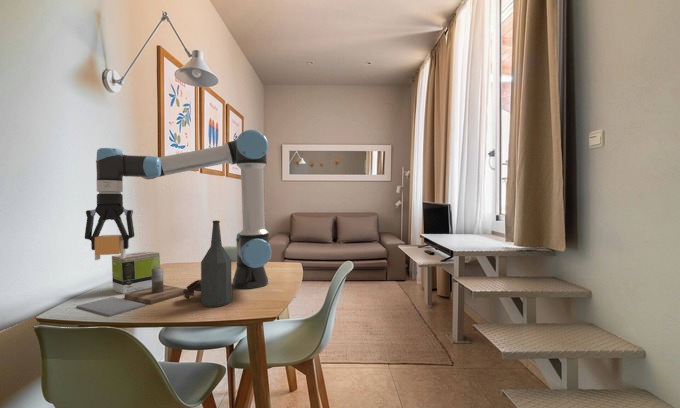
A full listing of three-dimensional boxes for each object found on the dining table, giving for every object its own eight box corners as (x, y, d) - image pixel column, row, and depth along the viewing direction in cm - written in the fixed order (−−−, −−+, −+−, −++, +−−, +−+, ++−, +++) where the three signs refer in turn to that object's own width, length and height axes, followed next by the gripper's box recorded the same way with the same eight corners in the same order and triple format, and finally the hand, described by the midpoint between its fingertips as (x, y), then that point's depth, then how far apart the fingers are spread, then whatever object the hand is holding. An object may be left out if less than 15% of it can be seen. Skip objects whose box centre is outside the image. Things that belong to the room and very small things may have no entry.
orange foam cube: (124, 251, 123) (124, 234, 122) (118, 254, 116) (118, 236, 116) (102, 252, 120) (102, 235, 120) (94, 255, 114) (94, 237, 114)
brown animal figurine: (209, 304, 123) (197, 286, 121) (188, 314, 124) (175, 296, 122) (221, 287, 135) (210, 270, 133) (201, 296, 136) (190, 280, 134)
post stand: (189, 293, 135) (189, 267, 135) (151, 304, 121) (150, 275, 121) (163, 288, 143) (163, 263, 142) (124, 298, 128) (124, 270, 128)
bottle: (220, 308, 116) (220, 221, 116) (195, 306, 119) (195, 221, 118) (236, 299, 126) (235, 219, 126) (213, 298, 129) (212, 219, 128)
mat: (145, 306, 119) (145, 304, 119) (109, 316, 109) (109, 314, 109) (112, 298, 128) (112, 296, 128) (76, 307, 118) (76, 305, 118)
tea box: (149, 283, 152) (149, 250, 151) (161, 286, 146) (160, 252, 146) (111, 290, 139) (111, 254, 139) (122, 294, 134) (122, 257, 133)
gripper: (70, 192, 111) (71, 262, 111) (139, 193, 117) (139, 259, 118) (80, 193, 118) (81, 258, 119) (144, 193, 124) (145, 255, 125)
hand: (110, 258), depth 118 cm, fingers closed on orange foam cube, 7 cm apart
